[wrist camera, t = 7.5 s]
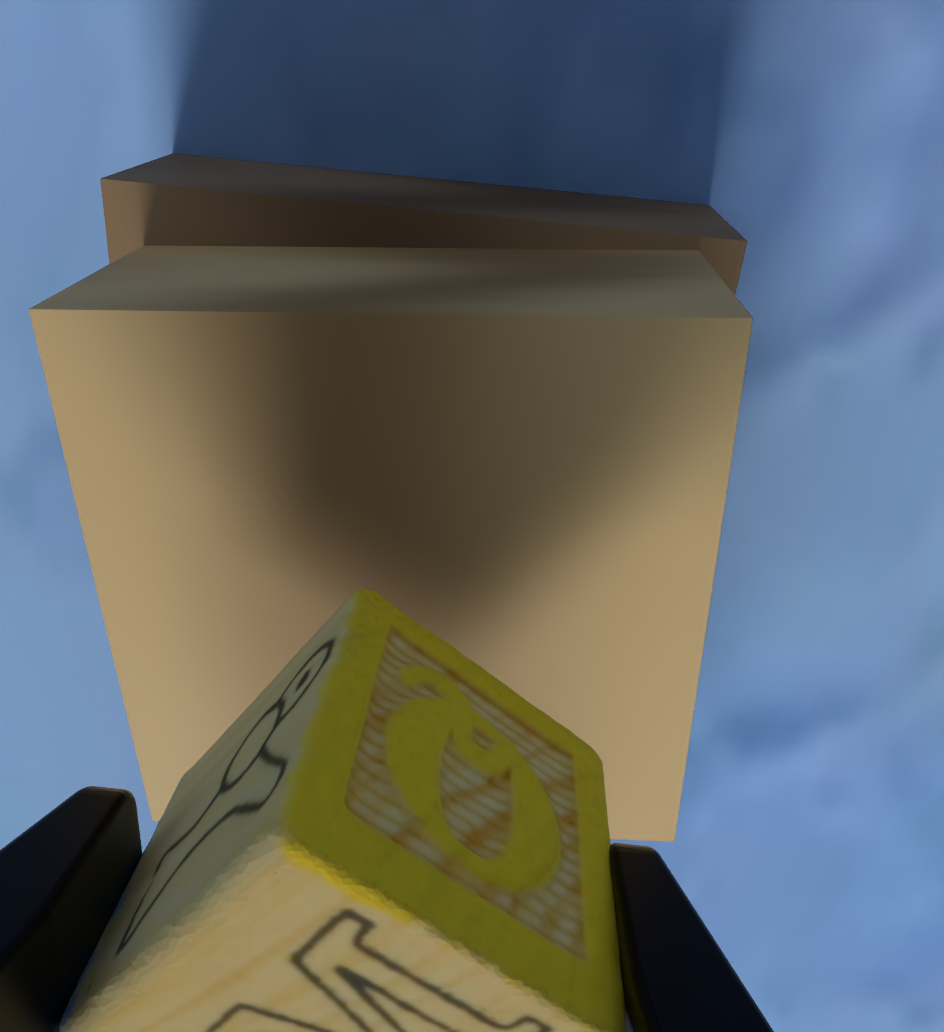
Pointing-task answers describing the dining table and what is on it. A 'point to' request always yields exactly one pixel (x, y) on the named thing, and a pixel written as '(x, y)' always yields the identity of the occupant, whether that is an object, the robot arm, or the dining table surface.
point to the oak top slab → (405, 477)
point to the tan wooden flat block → (389, 213)
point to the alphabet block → (371, 860)
